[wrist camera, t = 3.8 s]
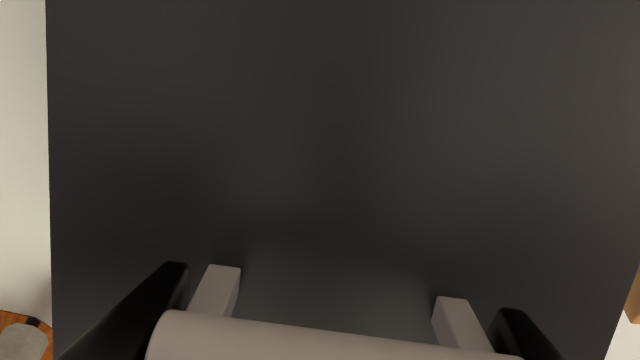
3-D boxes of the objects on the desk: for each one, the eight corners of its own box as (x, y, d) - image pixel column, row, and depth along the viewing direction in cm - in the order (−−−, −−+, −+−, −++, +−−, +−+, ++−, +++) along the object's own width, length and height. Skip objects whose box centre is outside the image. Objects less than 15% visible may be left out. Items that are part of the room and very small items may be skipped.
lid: (545, 462, 12) (653, 672, 8) (68, 400, 12) (-66, 586, 8) (744, -91, 9) (1121, -211, 5) (61, -203, 8) (-196, -438, 4)
